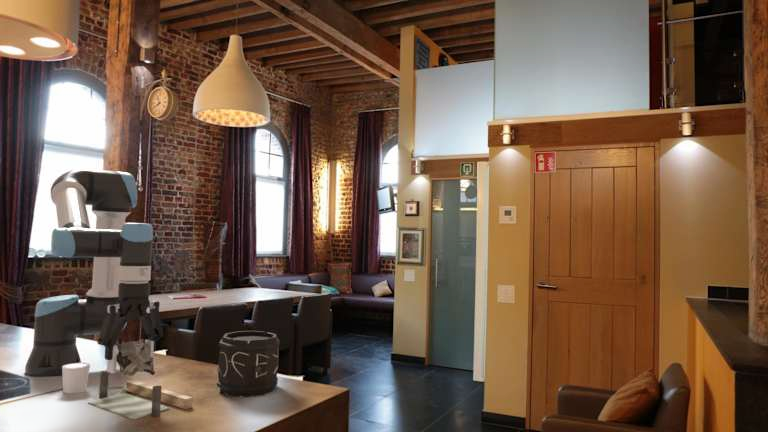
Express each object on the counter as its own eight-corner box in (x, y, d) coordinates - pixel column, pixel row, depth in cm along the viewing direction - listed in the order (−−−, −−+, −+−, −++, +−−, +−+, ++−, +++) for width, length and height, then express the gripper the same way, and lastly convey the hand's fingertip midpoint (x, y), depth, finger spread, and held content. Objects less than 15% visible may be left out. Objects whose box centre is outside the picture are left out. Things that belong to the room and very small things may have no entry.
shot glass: (94, 388, 155) (95, 363, 155) (73, 395, 148) (74, 369, 148) (76, 385, 157) (77, 361, 157) (54, 391, 150) (56, 366, 151)
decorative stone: (167, 370, 138) (159, 332, 137) (130, 385, 132) (121, 345, 131) (142, 361, 149) (135, 326, 148) (108, 374, 143) (99, 338, 142)
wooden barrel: (222, 401, 147) (225, 343, 148) (210, 384, 163) (213, 331, 164) (286, 394, 155) (289, 339, 156) (269, 379, 171) (272, 329, 172)
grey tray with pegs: (81, 401, 143) (83, 374, 143) (132, 389, 155) (133, 364, 156) (140, 422, 129) (142, 392, 129) (191, 407, 141) (193, 380, 142)
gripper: (101, 285, 130) (96, 379, 129) (180, 280, 149) (176, 363, 148) (84, 283, 134) (79, 374, 133) (163, 279, 153) (159, 359, 152)
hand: (130, 368), depth 141 cm, fingers closed on decorative stone, 10 cm apart
